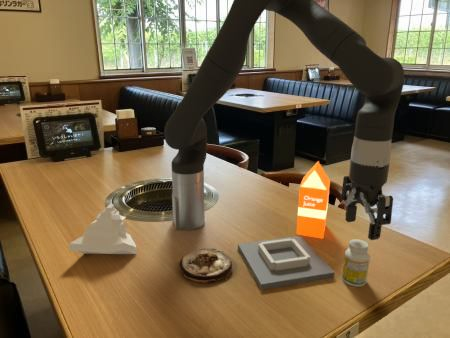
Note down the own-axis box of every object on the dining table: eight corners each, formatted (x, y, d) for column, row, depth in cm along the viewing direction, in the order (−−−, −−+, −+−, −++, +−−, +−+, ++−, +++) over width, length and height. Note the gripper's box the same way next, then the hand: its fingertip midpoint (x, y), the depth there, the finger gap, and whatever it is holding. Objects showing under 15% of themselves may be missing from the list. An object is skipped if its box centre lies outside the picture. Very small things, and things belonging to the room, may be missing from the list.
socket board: (261, 290, 82) (261, 276, 81) (237, 248, 98) (238, 237, 97) (333, 277, 86) (335, 264, 85) (300, 240, 102) (300, 229, 101)
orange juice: (326, 225, 111) (332, 161, 105) (323, 238, 103) (330, 171, 97) (300, 221, 114) (304, 159, 107) (295, 234, 106) (300, 168, 99)
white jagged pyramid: (87, 246, 102) (91, 195, 101) (141, 251, 102) (145, 200, 101) (68, 260, 90) (72, 202, 89) (129, 266, 90) (134, 208, 89)
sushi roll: (180, 293, 81) (180, 277, 80) (171, 258, 95) (171, 243, 93) (244, 283, 85) (245, 267, 83) (227, 250, 98) (227, 236, 97)
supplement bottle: (361, 290, 82) (366, 252, 78) (338, 281, 85) (342, 244, 82) (369, 279, 85) (375, 242, 82) (347, 270, 89) (351, 235, 86)
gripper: (335, 151, 82) (329, 218, 87) (376, 171, 68) (366, 248, 74) (365, 148, 83) (357, 214, 88) (410, 167, 70) (398, 243, 75)
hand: (361, 229), depth 81 cm, fingers open, 8 cm apart
